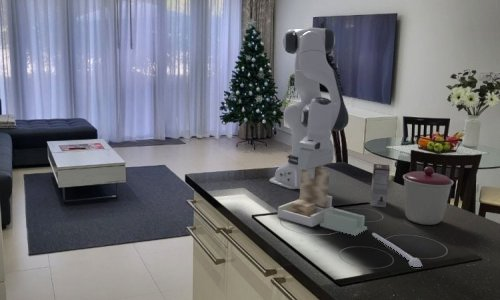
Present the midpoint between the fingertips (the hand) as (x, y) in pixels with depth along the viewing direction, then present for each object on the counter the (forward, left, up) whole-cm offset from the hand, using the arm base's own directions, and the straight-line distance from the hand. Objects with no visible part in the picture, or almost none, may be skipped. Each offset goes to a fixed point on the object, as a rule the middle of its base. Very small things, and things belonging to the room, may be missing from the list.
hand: (314, 177), depth 193 cm
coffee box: (+12, +33, -15) cm, 38 cm away
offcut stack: (0, -7, -15) cm, 16 cm away
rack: (0, -5, -15) cm, 16 cm away
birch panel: (0, 0, -10) cm, 10 cm away
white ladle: (+38, -13, -15) cm, 42 cm away
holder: (+16, -5, -15) cm, 22 cm away
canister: (+34, +25, -15) cm, 45 cm away
